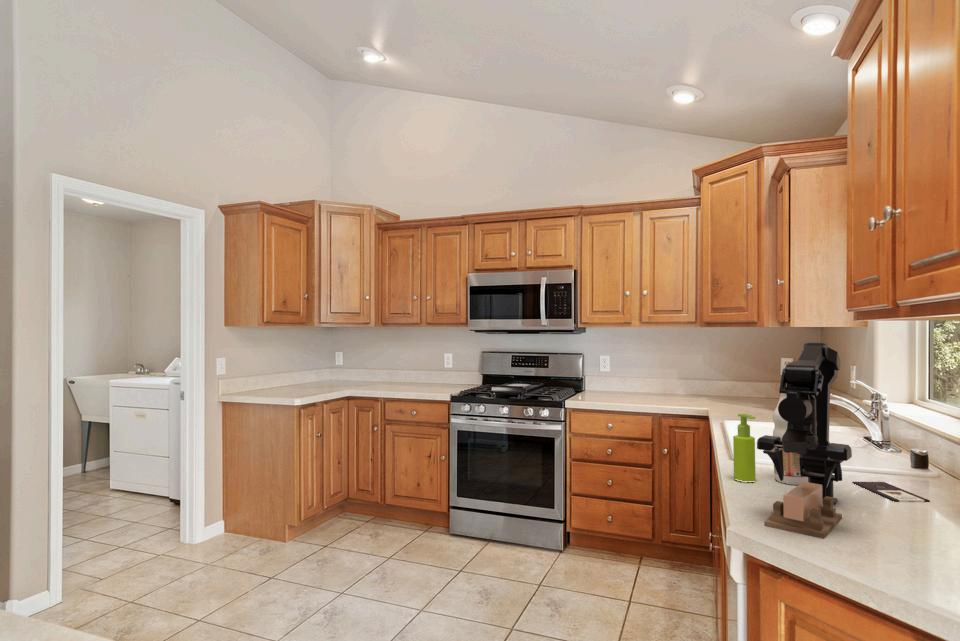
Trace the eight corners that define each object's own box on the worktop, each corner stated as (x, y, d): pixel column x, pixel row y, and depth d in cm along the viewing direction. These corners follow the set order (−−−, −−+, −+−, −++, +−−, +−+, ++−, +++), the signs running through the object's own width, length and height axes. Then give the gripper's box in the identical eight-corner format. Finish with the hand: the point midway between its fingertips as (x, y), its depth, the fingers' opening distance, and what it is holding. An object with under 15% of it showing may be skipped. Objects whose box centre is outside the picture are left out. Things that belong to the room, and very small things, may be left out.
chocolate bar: (884, 481, 163) (929, 500, 145) (884, 485, 163) (929, 504, 145) (852, 481, 163) (893, 499, 145) (852, 484, 163) (893, 503, 145)
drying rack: (786, 507, 141) (786, 487, 141) (842, 518, 133) (841, 497, 133) (764, 525, 128) (764, 503, 128) (824, 538, 120) (823, 515, 120)
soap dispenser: (745, 484, 162) (744, 416, 162) (729, 478, 169) (728, 413, 169) (762, 483, 163) (761, 415, 164) (746, 477, 170) (745, 412, 171)
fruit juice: (770, 482, 165) (767, 388, 165) (778, 475, 172) (775, 385, 172) (806, 487, 158) (802, 389, 159) (813, 480, 165) (810, 387, 166)
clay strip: (804, 501, 137) (803, 481, 138) (822, 505, 135) (822, 484, 135) (783, 517, 126) (783, 495, 126) (803, 521, 123) (802, 498, 123)
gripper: (748, 417, 131) (749, 483, 131) (840, 426, 118) (842, 499, 118) (763, 412, 139) (764, 474, 139) (851, 420, 126) (852, 488, 126)
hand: (803, 483), depth 130 cm, fingers open, 9 cm apart
